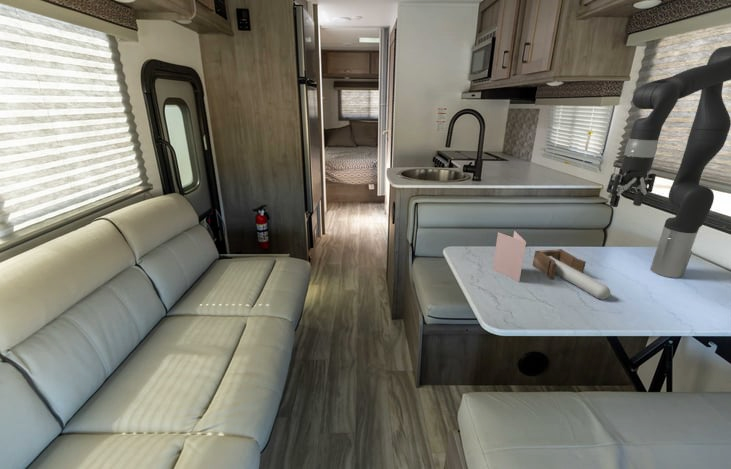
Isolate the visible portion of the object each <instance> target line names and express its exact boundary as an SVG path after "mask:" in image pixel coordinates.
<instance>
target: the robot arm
mask: <svg viewBox="0 0 731 469" xmlns="http://www.w3.org/2000/svg"><path fill="white" fill-rule="evenodd" d="M729 81H731V45H730V46H729V45H728V46H722V47H719V48H717V49H715V50H714V51H713V52H712V53H711V55H710V56H709V59H708V61H707V63H706V64H704V65H700V66H695V67H691V68H689V69H686V70H684V71H681V72H679V73H677V74H674V75H671V76H669V77H665V78H660V79H657V80H652V81H649V82H646V83H644V84H642V85H640V86H639V87H638V88H637V89H636V90H635V91H634V93H633V95H632V104H633V106H634V107H635V108H637V109H640V110H652V111H651V112H650V114H649V115H648V116H645V117H641V118H637V119H635V121H634V122H633V124H632V127H631V130H630V134H629V139H628V142H627V143H626V146H625V150H624V154H623V157H622V161H621V166H620V169H621V170H622V171H621V173H620V174H619V173H618V174H617V173H612V174H610V178H609V182H608V185H607V187H606V192H607V193H609V194H610V195H611V196H610V201H609V206H611V207H613V208H617V207H618V206H619V202H620V199H621V194H622V193H623V192H624V191H625V192H626V191H627V190H628V189H632V188H634V189H635V191H636V193H635V195H634V199H633V202H632V204H633V205H634V206H636V207H641V206H642V204H643V201H644V199H645V195H647V194H648V193H652V192H653V189H654V185H655V180H656V178H657V174H656V173H653V172H651V170H652V166H653V164H654V160H655V157H656V152H657V149H658V143H659V139H660V135H661V133H662V132H661V131H662V129H663V126H664V124H665V123H666V121H667V119H668V117H669V115H671V112H672V111H673V109H674V108H675V106H676V104H678V101H679V100H680V99H683V98H685V97H688V96H690V95H692V94H695V93H697V92H699V91H700V95H699V96H700V98H699V101H698V102H699V103H698V104H697V109H696V112H695V115H694V119H693V121H692V125H691V127H690V132H689V134H688V138H687V140H686V141H687V143H686V144H685V145H686V146H685V149H684V152H683V155H682V158H681V162H680V166H679V168H678V171H677V173H676V175H675V177H674V180H673V182H672V183H671V184H672V185H671V187H670V189H669V192H668V201H669V204H670V205H672V206H673V207H675V208H676V209H677V208H678V211H677V213H676V216H674V217H669V218H666V220H665V222H664V225H663V228H662V230H661V233H660V234H661V235H660V237H659V240H658V244H657V246H656V249H655V253H654V255H653V258H652V262H651V265H650V268H649V269H650V271H651V272H653V273H655V274H656V275H659V276H663V277H665V278H666V277H667V278H673V279H677V278H682V277H683V276H684V275H685V272H686V270H687V267H688V264H689V262H690V259H691V256H692V254H693V251H692V249H693V246H694V243H695V240H696V238H697V236H698V233H699V230H700V228H701V227H702V226H703V225H704V224H705V222H706V220H707V218H708V215H709V213H710V211H711V208H712V206H713V203H714V199H715V195H714V192H713V190H712V189H711V188H710V187H708V186H705V185H700V181H701V178H702V174H703V173H704V170H705V168H706V166H707V165H709V163H710V162H711V161H712V160H713V158H715V157H716V156H717V155H718V153H720V151H721V150H722V149H723V148H724V145H725V144H726V141H727V139H728V135H729V132H730V130H731V117H730V114H729V111H728V109H727V107H726V104H725V103H724V100H723V87H724V83H725V82H729Z"/></svg>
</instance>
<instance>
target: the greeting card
mask: <svg viewBox="0 0 731 469" xmlns="http://www.w3.org/2000/svg"><path fill="white" fill-rule="evenodd" d="M527 246H528V244H527V242H526V240H525V239H524V238H523V237H522V236H521V235H519V233H517V231H515V230H514V231H513V236H510V235H507V234H505V233H501V232H497V236H496V243H495V250H494V255H493V256H494V258H493V262H492V263H493V264H492V271H494V272H496V273H499V274H501V275H503V276H505V277H507V278H509V279H511V280H514V281H516V282H519V283H520V279H521V273H522V269H523V263H524V256H525V251H526V248H527Z"/></svg>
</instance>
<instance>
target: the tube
mask: <svg viewBox="0 0 731 469" xmlns="http://www.w3.org/2000/svg"><path fill="white" fill-rule="evenodd" d="M548 257H550V258H551V259H553V260H555V262H556V264H557V266H556V270H555V275H556V276H558V277H560V278H562V279H563V280H565V281H567V282H568V283H570V284H572V285H574V286H576V287H578V288H579V289H581V290H583V291H584V292H586V293H588V294H589V295H590V296H591V295H592V296H593V297H595V298H596V299H598V300H603V301H604V300H606V299H607V298H609V297H610V296H611V289H610V288H609V286H607V285H605V284H603V283H602V282H599V281H597V280H596V279H594V278H593V277H590V276H588V275H587V274H585V273H584V272H583V273H581V272H579V271H577V270H575V269H573V268H572V267H570V266H568V265H566V264H564V263H562V262H560V261H558V260H556V259H555V258H553V257H552V256H548Z"/></svg>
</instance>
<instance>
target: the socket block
mask: <svg viewBox="0 0 731 469" xmlns="http://www.w3.org/2000/svg"><path fill="white" fill-rule="evenodd" d="M548 256H552V257H553V258H555V259H556V260H558V261H560V262H562V263H564V264H566V265H568V266H570V267H572V268H573V269H575V270H577V271H579V272H581V273H583V274H584V271H585V267H586V263H587V261H585V260H582V259H579V258H578V257H576V256H574V255H572V254H570V253H569V252H567V251H566V250H564V249H561V248H557V249H556V248H555V249H545V250H544V249H543V250H535V251H534V256H533V260H532V266H533V267H534V268H535V269H537V270H539V271H540V272H542V273H543V274H545V275H546V276H547V277H548V280H551V281H552V280H554V279H555V278H554V277H555V275H556V274H555V270H556V266H557V264H556V262H555V260H553V259H551V258H550V257H548Z"/></svg>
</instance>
